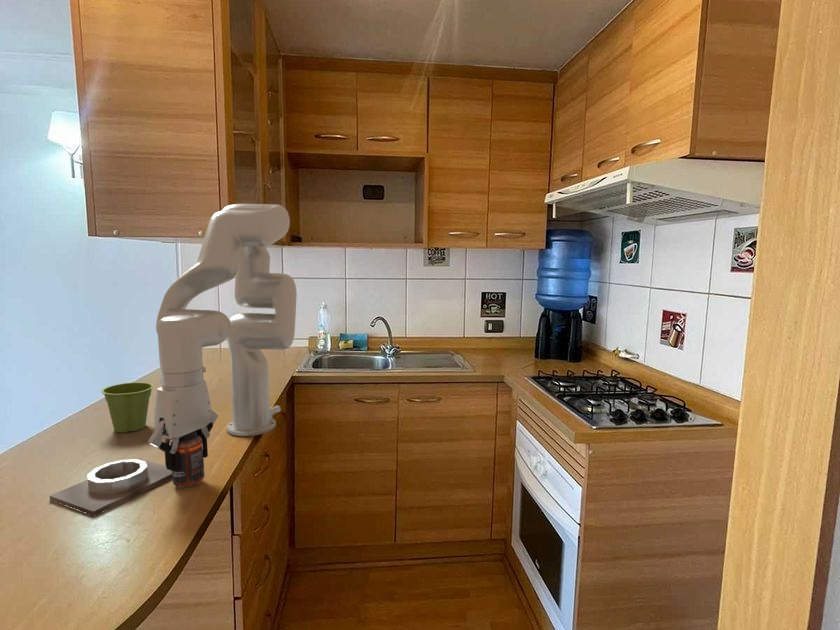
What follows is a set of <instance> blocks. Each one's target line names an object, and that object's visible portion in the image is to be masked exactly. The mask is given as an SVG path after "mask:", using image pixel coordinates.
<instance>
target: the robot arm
mask: <svg viewBox="0 0 840 630" xmlns="http://www.w3.org/2000/svg"><path fill="white" fill-rule="evenodd" d="M290 223H291V222H290V214H289V212H288V210H287V209H286V207H284V206H282V205H280V204H273V203H272V204H271V203H268V204H267V203H264V204H263V203H262V204H261V203H234V204H229V205H226V206H225V207H223V209H222V210H220V211H217V212H214V214H212V216H211V217H210V219H209V221H208V225H207V227H206V228H207V229H206V231H205V234H204V238H203V240H202V241H203V242H202V245H201V248H200V252H199V254H198V257H197V261H196V263H195V264H194V265H193V266H192V267H190V268H189V269H188V270H186V271H185V272H184V273H182V274H181V275H180V276H179V277H178V278H177V279H175V281H174V282H173V283H171V285H170V286H169V288H167V290H166V291H165V293H164V295H163V298H162V300H161V304H160V307H159V310H158V314H157V318H156V323H155V328H156V329H155V330H156V333H157V342H158V343H157V345H158V356H159V371H160V372H159V373H160V383H161V384H160V385H161V386H160V387H158V388H157V390H156V395H155V399H154V400H155V401H154V417H153V418H154V431H153V432H152V434H151V436H150V437H149V439H148V440H147V441H148V443H149V444H150V445H151V446H153V447H156V448H157V449H159V450H160V451H161V452H164V460H165V466H166V468H167V469H168V470H171V471H175V472H178V471H180V455H179V452H177V451H176V450H177V446H178V442H179V438H180V437H182V436H185V435H187V434H189V433H191V432H193V431H197V433H196V434H197V435H199V436H200V437H201V438H202V444H203V459H206V458H207V457H209V453H208V451H209V450H208V439H209V438H210V436H211V434H210V432H211V430H212V429H213V427H214V424H215V423H216V420H217V419H218V418H219V417H218V416H219V415H218V413H216V412H215V411H214V410H212V408H211V399H210V393H209V389H208V385H207V382H206V380H205V379H204V373H205V372H206V371H207V369H206V366H204V365H203V348H207V347H212V346H217V345H221V344H223V342H225V341H227V345H228V351H229V358H230V376H231V378H230V379H231V380H230V381H231V406H232V421H231V422H229V423H227V425H226V432H227V433H228V434H230V435H231V436H237V437H253V436H254V437H255V436H258V435H259V436H261V435H263V434H266V433H268V432H272V431H273V429H275V428H276V426H277V422H276V421H277V420H275V418H273V416H274V414H277V413H279V412H280V411H281V406H280V405H274V406H273V407H271V406H270V404H271V403H270V373H269V372H270V370H269V369H270V368H269V362H268V359H267V358H266V356H265V354H264V353H263V352H262V350H270V351H271V350H274V351H275V350H277V351H278V350H279V351H281V350H287V349H289V348H290V347H291V346H292V345H293V343H294V340H295V335H296V333H295V331H296V315H297V314H296V313H297V286H296V282H295V280H294V278H293V276H290V274H286V273H280V272H279V273H278V272H271V271H270V269H271V268H270V267H271V265H270V264H271V255H270V252H269V251H268V249H267V247H268V246H271V245H273V244H275V243H277V242H279V240H281V239H283V238H284V237H285V236H286V235H287V233H288V232H289V229H290V226H291V225H290ZM234 278H235V279H234ZM233 279H234V300H235V301H236V302H235V303H236V304H237V305H238V306H240V307H242V308H248V309H270V310H273V309H274V311H275V313H261V312H259V313H257V312H241V313H236V314H234V315H232V316H230V318H229V317H228V316H227V315H226V313H223V312H221V311H218V310H214V309H213V310H211V309H186V308H187V307H188V305H189V304H190V302H191V301H193V300H194V298H197V296H199V295H200V294H202V293H204V292H206V291H208V290H211V289H213V288H217V287H219V286H221V285H224V284H226V283H228V282H230V281H232V280H233ZM162 437H163V440H162ZM171 441H172V442H171ZM170 443H171V446H170Z"/></svg>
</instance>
